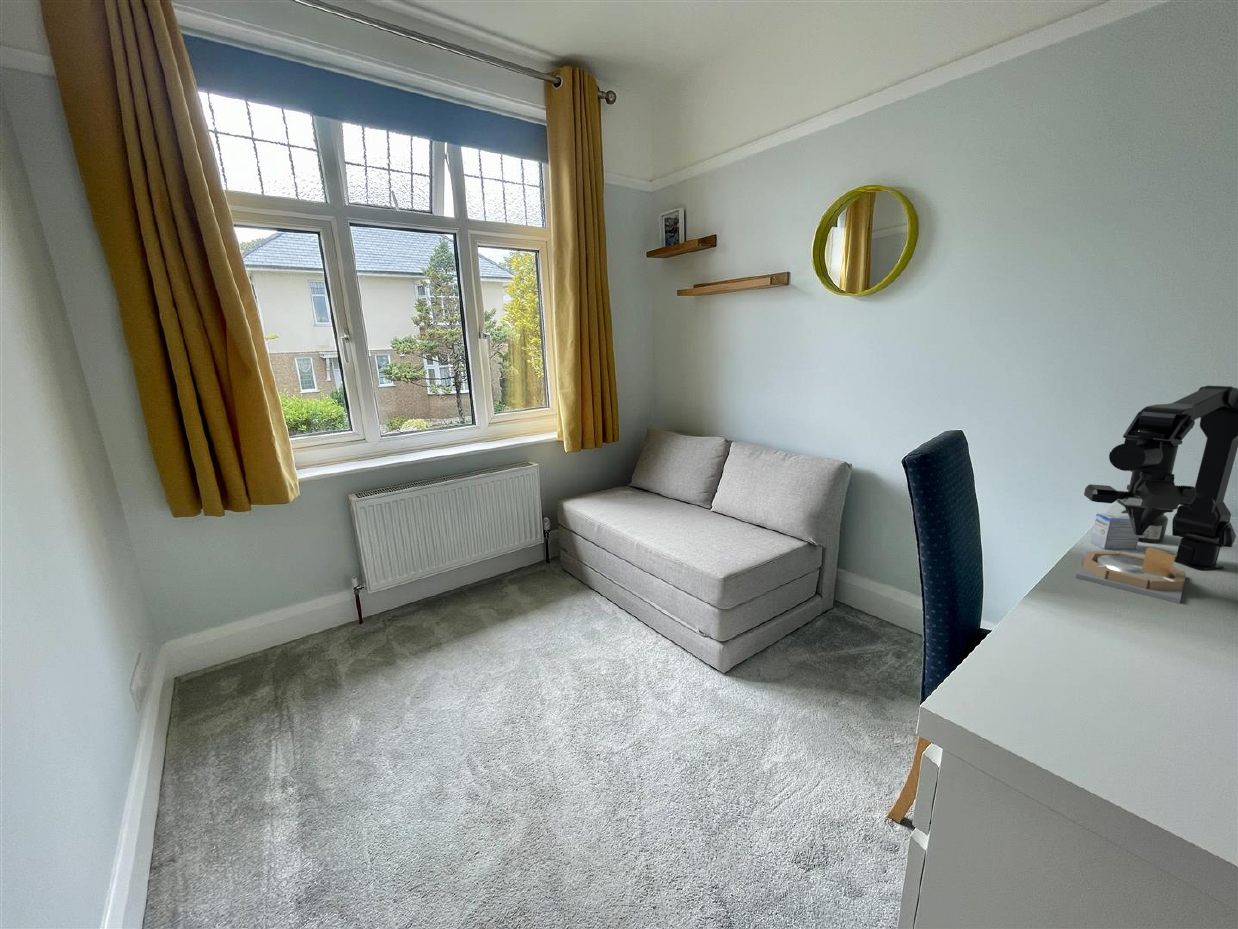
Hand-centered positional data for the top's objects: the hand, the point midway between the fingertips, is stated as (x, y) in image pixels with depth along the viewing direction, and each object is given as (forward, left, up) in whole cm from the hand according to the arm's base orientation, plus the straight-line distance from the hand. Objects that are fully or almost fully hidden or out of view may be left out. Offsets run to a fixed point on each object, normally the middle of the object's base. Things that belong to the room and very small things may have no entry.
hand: (1137, 534), depth 107 cm
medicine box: (-18, -20, -12) cm, 29 cm away
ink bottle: (-31, -25, -12) cm, 41 cm away
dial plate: (-4, -3, -12) cm, 13 cm away
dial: (-4, -3, -10) cm, 11 cm away
